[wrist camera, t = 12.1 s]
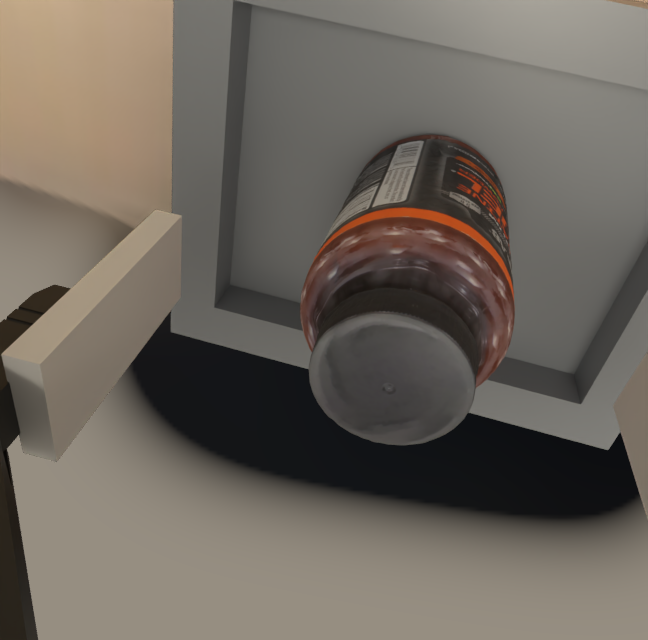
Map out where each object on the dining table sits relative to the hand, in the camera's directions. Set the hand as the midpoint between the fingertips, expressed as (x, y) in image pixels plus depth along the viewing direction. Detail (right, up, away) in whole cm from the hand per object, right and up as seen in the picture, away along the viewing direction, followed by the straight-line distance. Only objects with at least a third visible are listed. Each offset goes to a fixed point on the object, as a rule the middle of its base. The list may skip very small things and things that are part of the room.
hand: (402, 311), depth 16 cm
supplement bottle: (+2, +4, +7) cm, 8 cm away
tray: (+2, +5, +8) cm, 9 cm away
